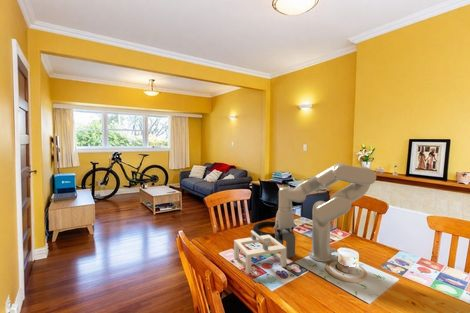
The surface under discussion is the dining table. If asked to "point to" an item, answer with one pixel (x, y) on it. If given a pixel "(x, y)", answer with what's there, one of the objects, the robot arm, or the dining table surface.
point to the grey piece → (287, 242)
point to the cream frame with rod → (260, 251)
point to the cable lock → (262, 224)
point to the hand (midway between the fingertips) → (284, 238)
